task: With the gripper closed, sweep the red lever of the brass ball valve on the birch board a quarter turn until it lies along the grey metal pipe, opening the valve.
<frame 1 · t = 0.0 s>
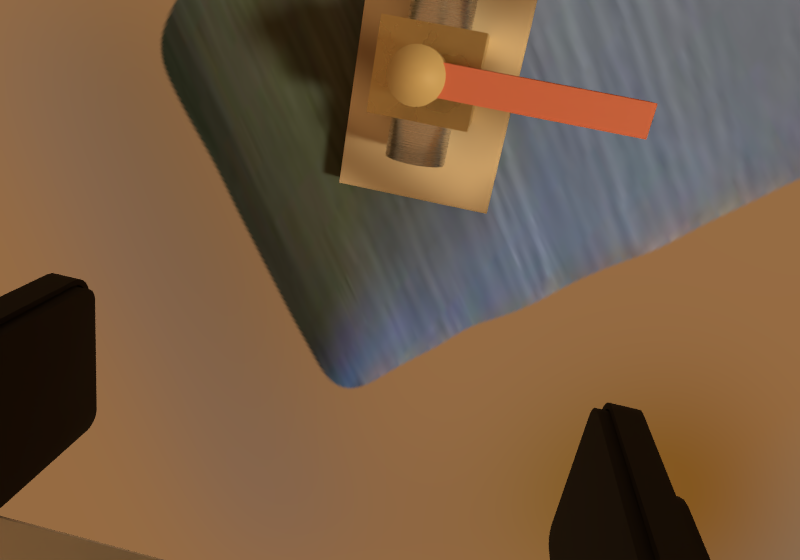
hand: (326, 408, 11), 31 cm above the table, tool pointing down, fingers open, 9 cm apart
valve body: (429, 73, 33), on the mounting board, point 5 cm above the table
valve lever: (516, 94, 29), point 10 cm above the table, hinge at 90.0°
mounting board: (438, 71, 38), on the table
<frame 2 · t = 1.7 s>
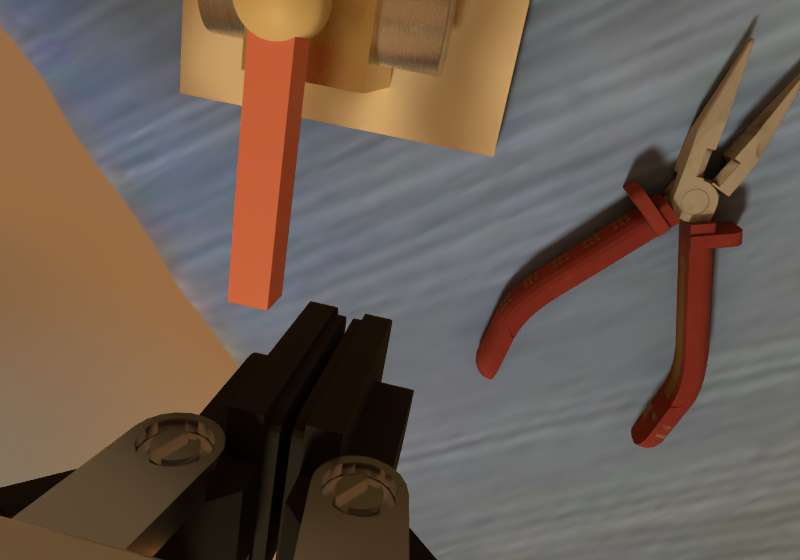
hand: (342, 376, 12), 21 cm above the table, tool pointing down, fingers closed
valve body: (324, 7, 24), on the mounting board, point 5 cm above the table
pliers: (663, 274, 32), on the table
valve lever: (269, 142, 22), point 10 cm above the table, hinge at 90.0°
mounting board: (354, 16, 29), on the table
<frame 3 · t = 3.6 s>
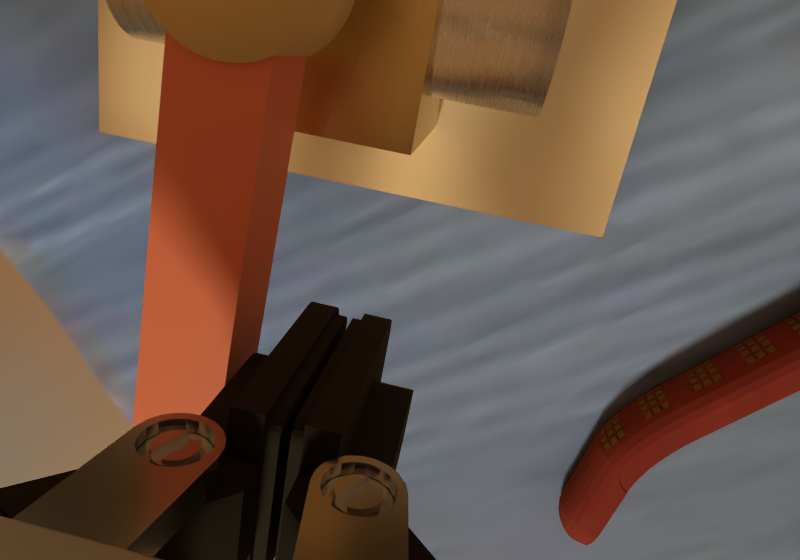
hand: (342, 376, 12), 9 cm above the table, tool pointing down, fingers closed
valve lever: (213, 260, 11), point 10 cm above the table, hinge at 86.6°, touching gripper
mounting board: (377, 11, 18), on the table
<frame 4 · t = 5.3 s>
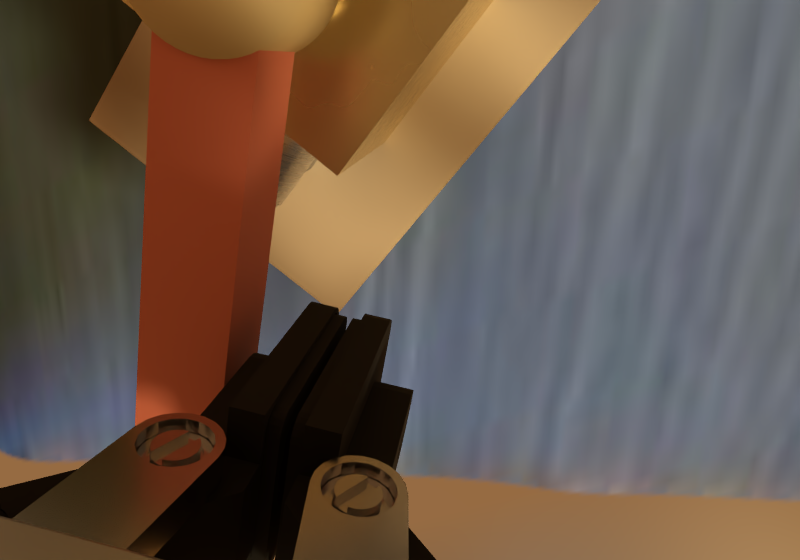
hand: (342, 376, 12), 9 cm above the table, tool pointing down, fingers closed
valve lever: (209, 260, 11), point 10 cm above the table, hinge at 26.9°, touching gripper
mounting board: (371, 11, 18), on the table
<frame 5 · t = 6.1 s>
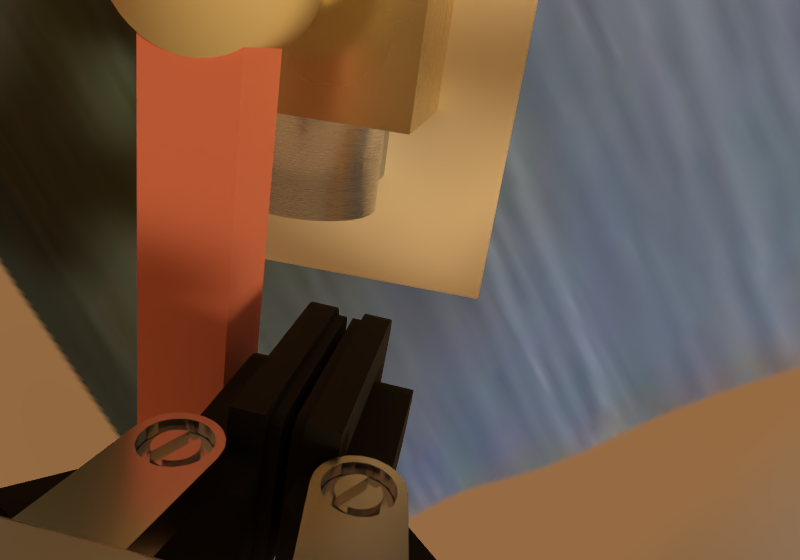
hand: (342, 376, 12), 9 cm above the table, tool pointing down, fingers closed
valve lever: (205, 260, 11), point 10 cm above the table, hinge at -1.4°, touching gripper
mounting board: (363, 7, 18), on the table
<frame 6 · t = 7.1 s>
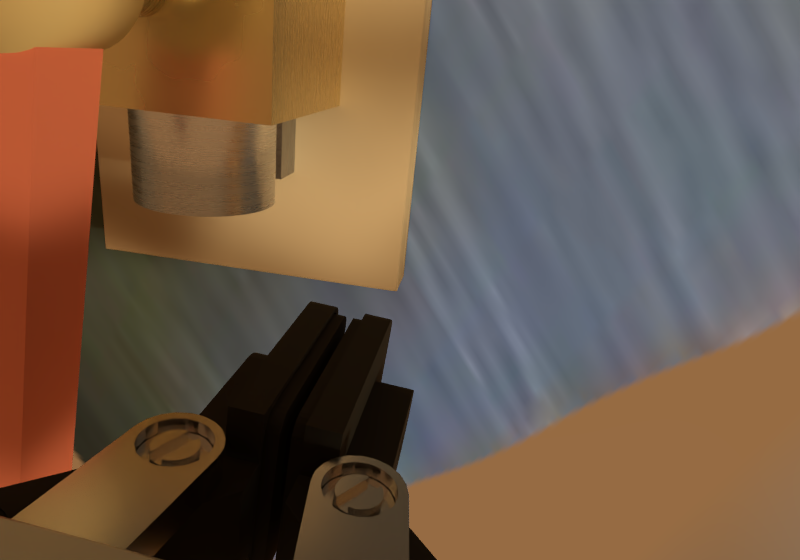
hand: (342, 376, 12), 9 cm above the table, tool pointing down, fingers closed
valve lever: (19, 245, 11), point 10 cm above the table, hinge at -9.8°
mounting board: (267, 7, 18), on the table
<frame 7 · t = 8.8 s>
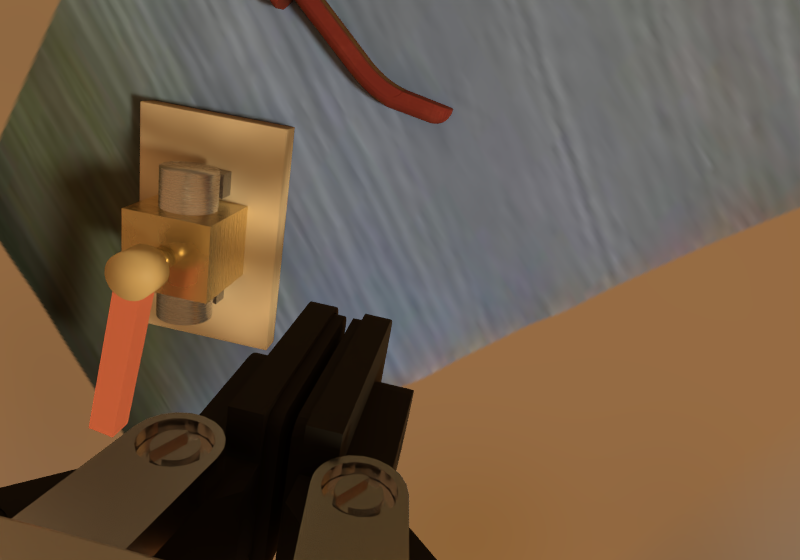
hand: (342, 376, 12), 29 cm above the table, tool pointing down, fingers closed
valve body: (180, 248, 38), on the mounting board, point 5 cm above the table
valve lever: (124, 343, 35), point 10 cm above the table, hinge at -9.8°
mounting board: (216, 227, 43), on the table
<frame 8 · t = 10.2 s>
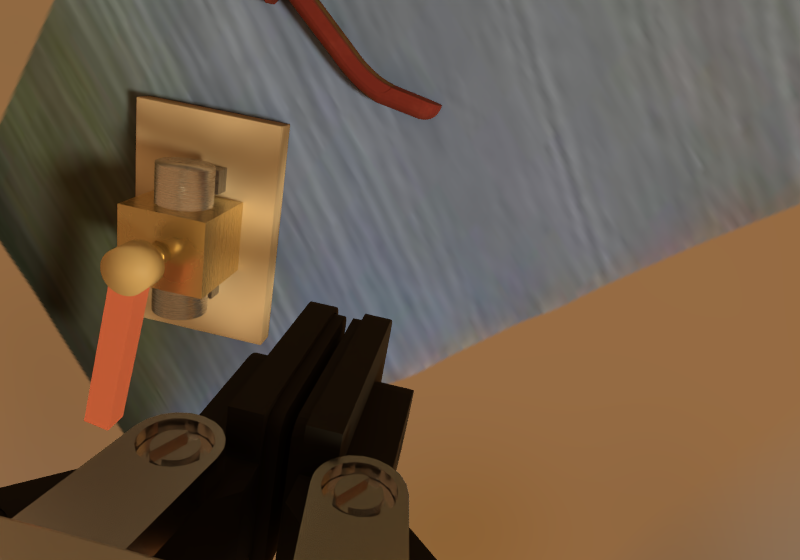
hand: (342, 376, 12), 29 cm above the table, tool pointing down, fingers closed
valve body: (175, 243, 38), on the mounting board, point 5 cm above the table
valve lever: (119, 337, 36), point 10 cm above the table, hinge at -9.8°
mounting board: (211, 222, 43), on the table
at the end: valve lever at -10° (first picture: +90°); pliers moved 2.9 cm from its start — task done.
